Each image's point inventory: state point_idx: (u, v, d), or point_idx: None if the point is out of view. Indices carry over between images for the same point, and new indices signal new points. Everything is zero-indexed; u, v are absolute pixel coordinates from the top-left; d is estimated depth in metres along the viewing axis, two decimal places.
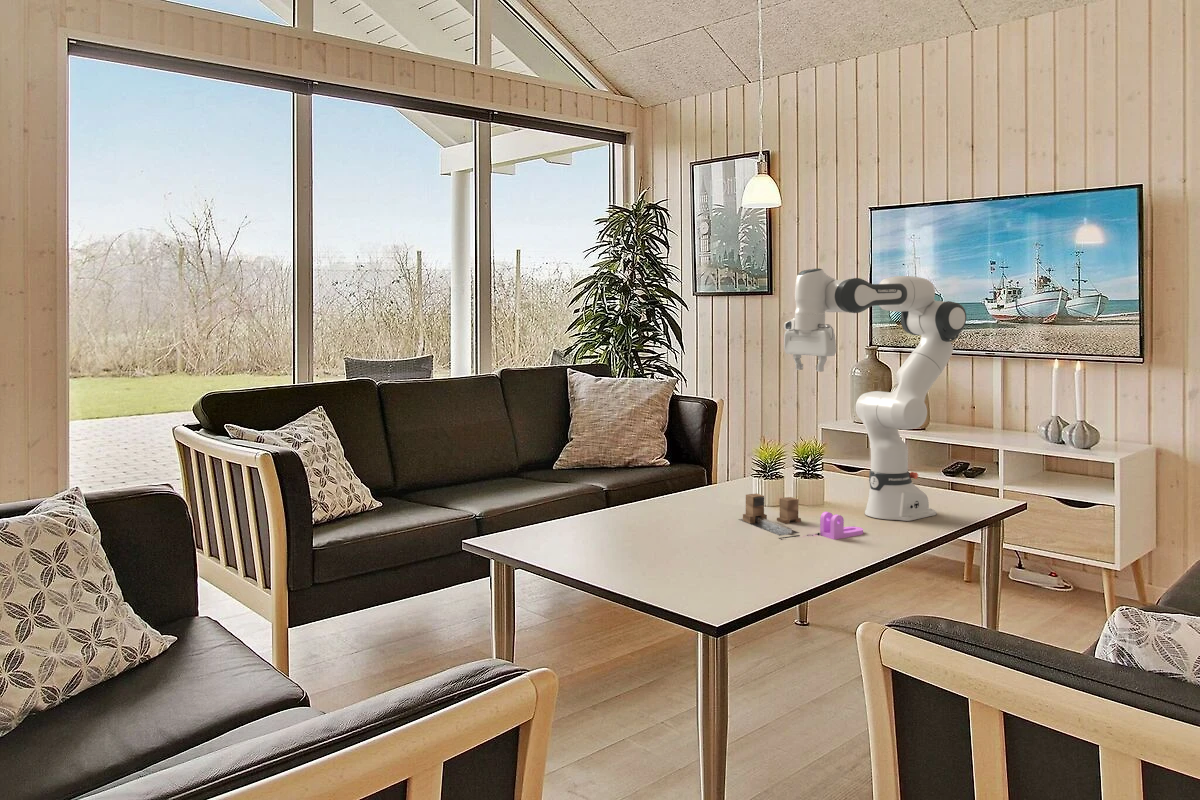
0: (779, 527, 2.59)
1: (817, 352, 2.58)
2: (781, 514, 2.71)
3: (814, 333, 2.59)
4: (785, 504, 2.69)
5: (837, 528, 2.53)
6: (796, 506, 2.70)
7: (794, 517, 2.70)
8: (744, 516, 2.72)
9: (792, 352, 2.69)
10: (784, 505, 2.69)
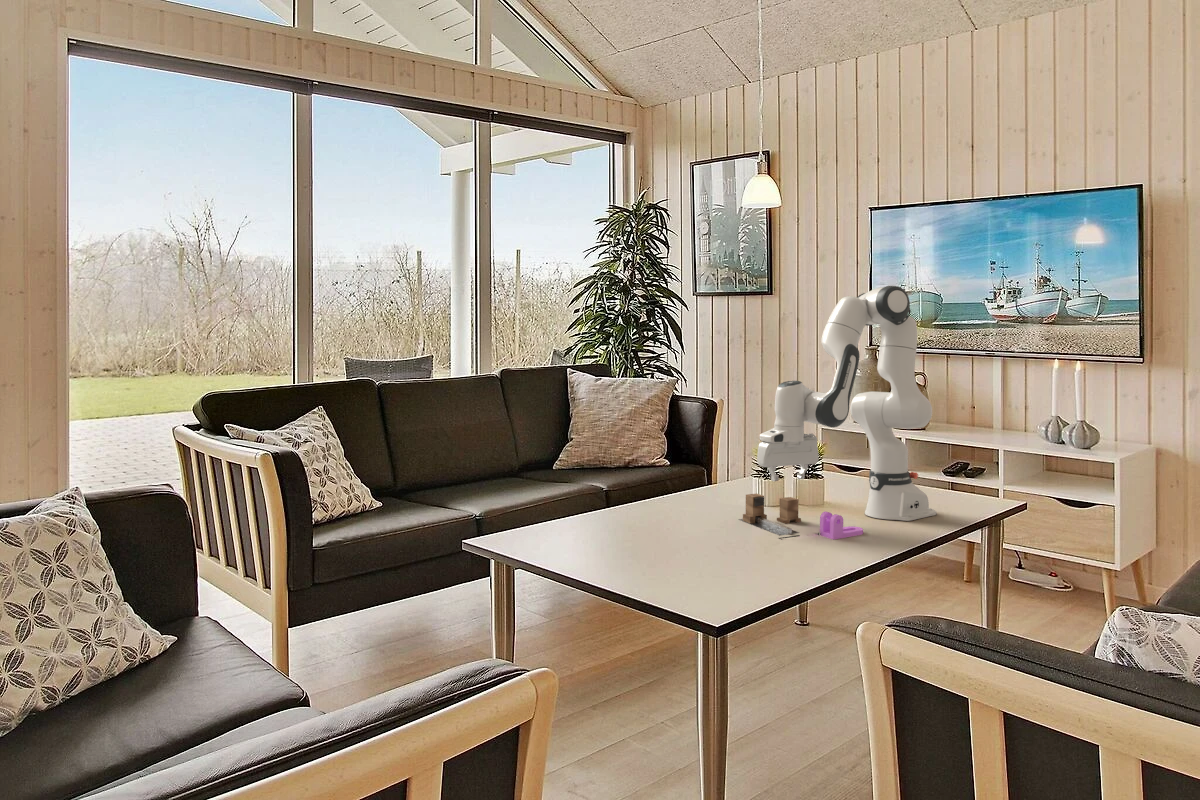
0: (779, 527, 2.59)
1: (808, 461, 2.70)
2: (781, 514, 2.71)
3: (803, 443, 2.69)
4: (785, 504, 2.69)
5: (836, 528, 2.54)
6: (796, 506, 2.70)
7: (794, 517, 2.70)
8: (744, 516, 2.72)
9: (775, 464, 2.66)
10: (784, 505, 2.69)
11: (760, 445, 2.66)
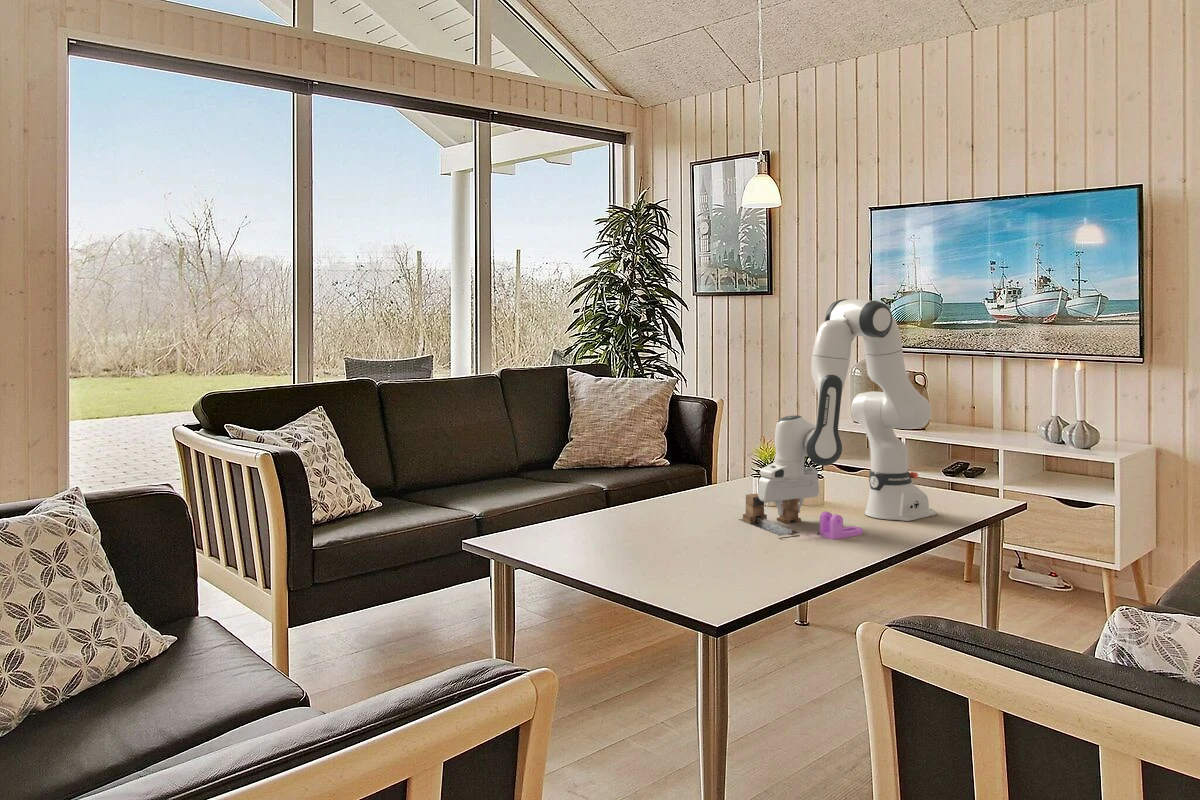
0: (779, 527, 2.59)
1: (808, 495, 2.71)
2: None
3: (804, 477, 2.70)
4: (785, 504, 2.69)
5: (836, 528, 2.53)
6: (796, 506, 2.70)
7: (794, 517, 2.70)
8: (744, 516, 2.72)
9: (776, 499, 2.67)
10: (784, 505, 2.69)
11: (761, 480, 2.67)
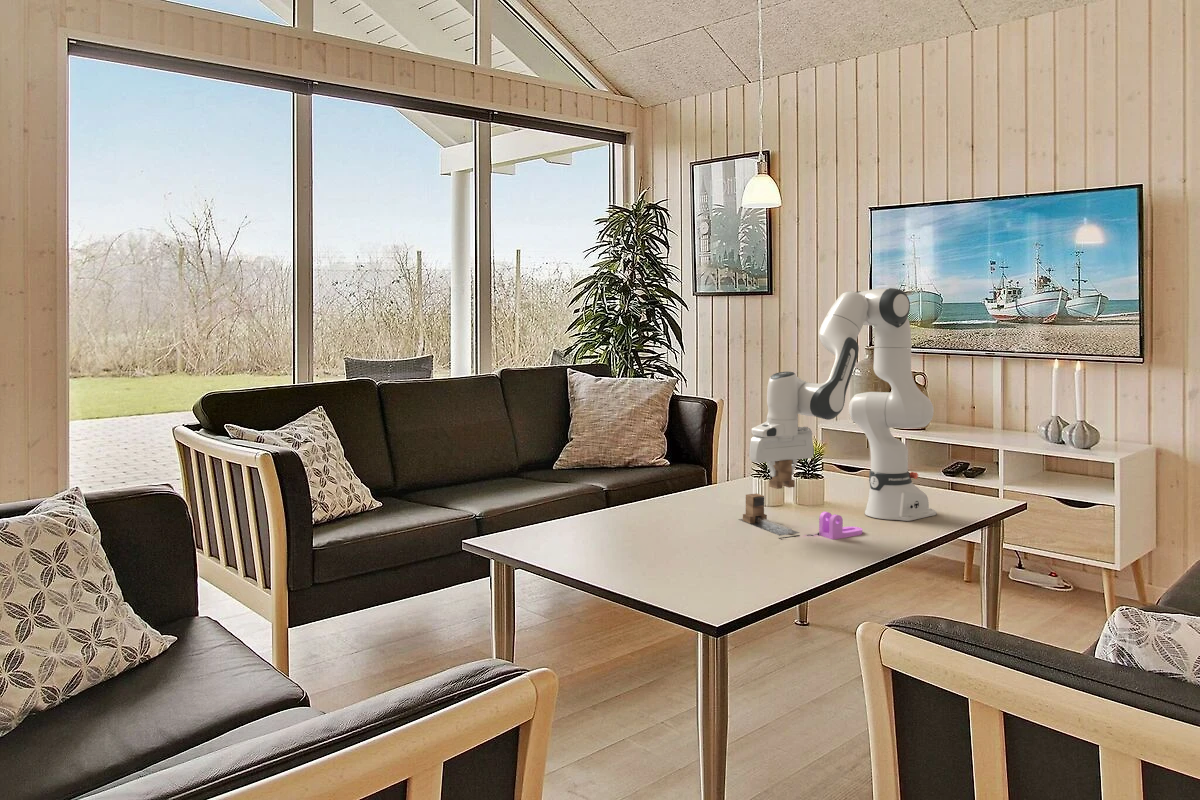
0: (779, 527, 2.59)
1: (802, 456, 2.58)
2: None
3: (798, 437, 2.57)
4: (778, 465, 2.56)
5: (835, 528, 2.53)
6: (789, 467, 2.56)
7: (787, 479, 2.56)
8: (744, 516, 2.72)
9: (768, 460, 2.53)
10: (777, 466, 2.56)
11: (752, 440, 2.54)
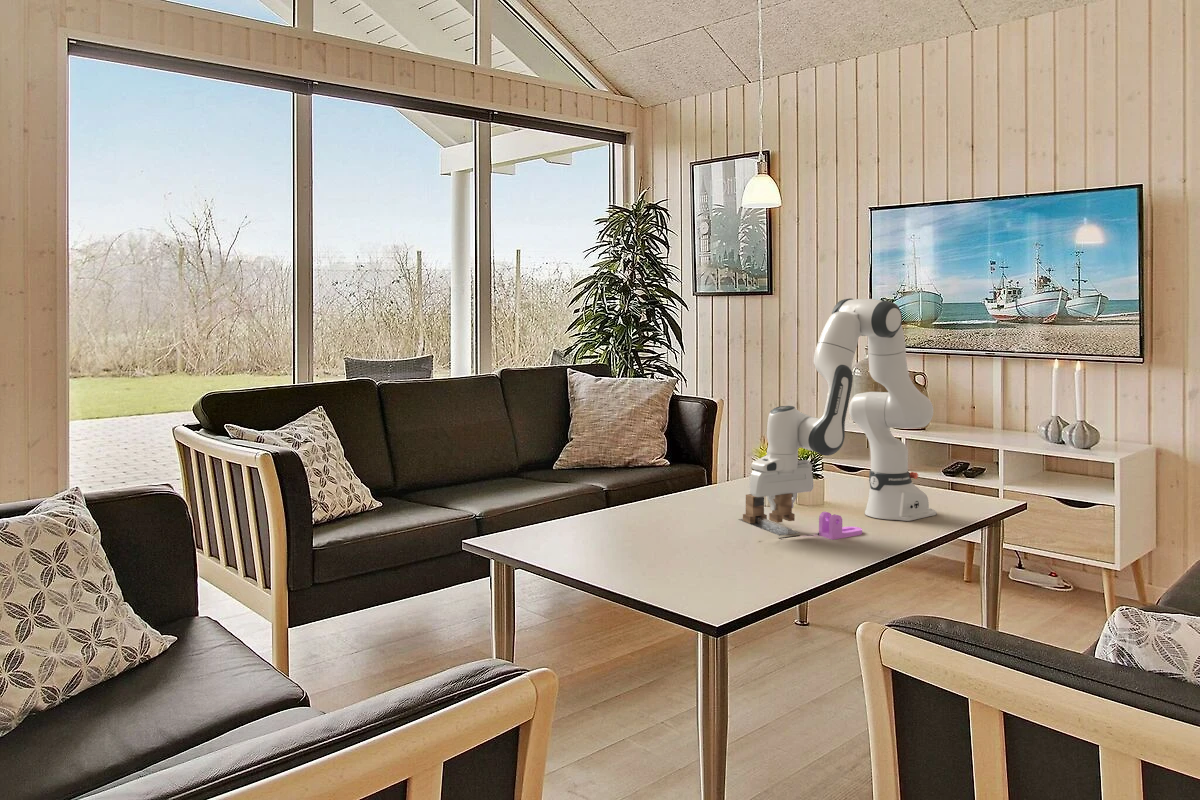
0: (779, 527, 2.59)
1: (802, 489, 2.59)
2: None
3: (798, 471, 2.58)
4: (778, 499, 2.57)
5: (835, 528, 2.53)
6: (789, 501, 2.57)
7: (787, 512, 2.57)
8: (744, 516, 2.72)
9: (768, 494, 2.54)
10: (777, 500, 2.57)
11: (752, 474, 2.55)
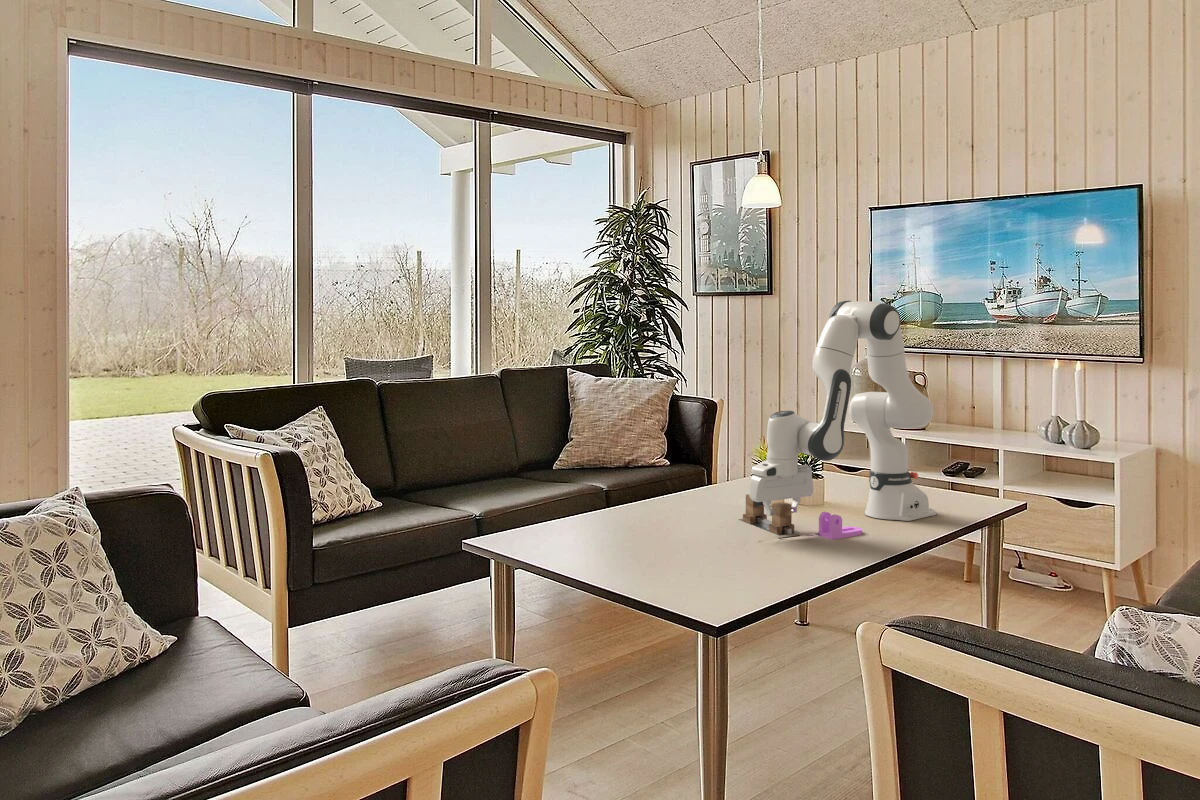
0: None
1: (802, 494, 2.59)
2: (773, 520, 2.59)
3: (797, 476, 2.58)
4: (778, 510, 2.57)
5: (835, 528, 2.53)
6: (789, 512, 2.58)
7: (787, 523, 2.58)
8: (744, 516, 2.72)
9: (768, 499, 2.55)
10: (777, 511, 2.58)
11: (752, 479, 2.55)
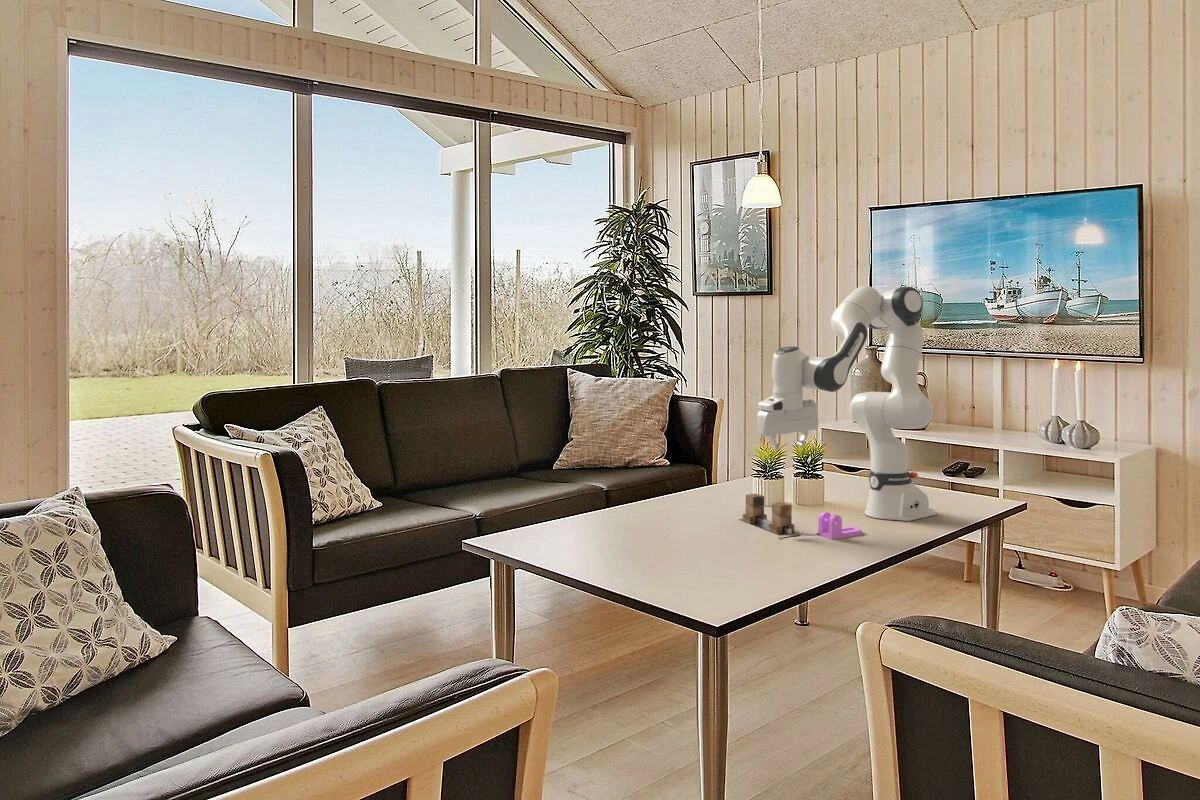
0: None
1: (808, 427, 2.66)
2: (773, 520, 2.59)
3: (803, 410, 2.65)
4: (778, 510, 2.57)
5: (835, 528, 2.53)
6: (789, 512, 2.58)
7: (787, 523, 2.58)
8: (744, 516, 2.72)
9: (775, 433, 2.61)
10: (777, 511, 2.58)
11: (759, 414, 2.62)
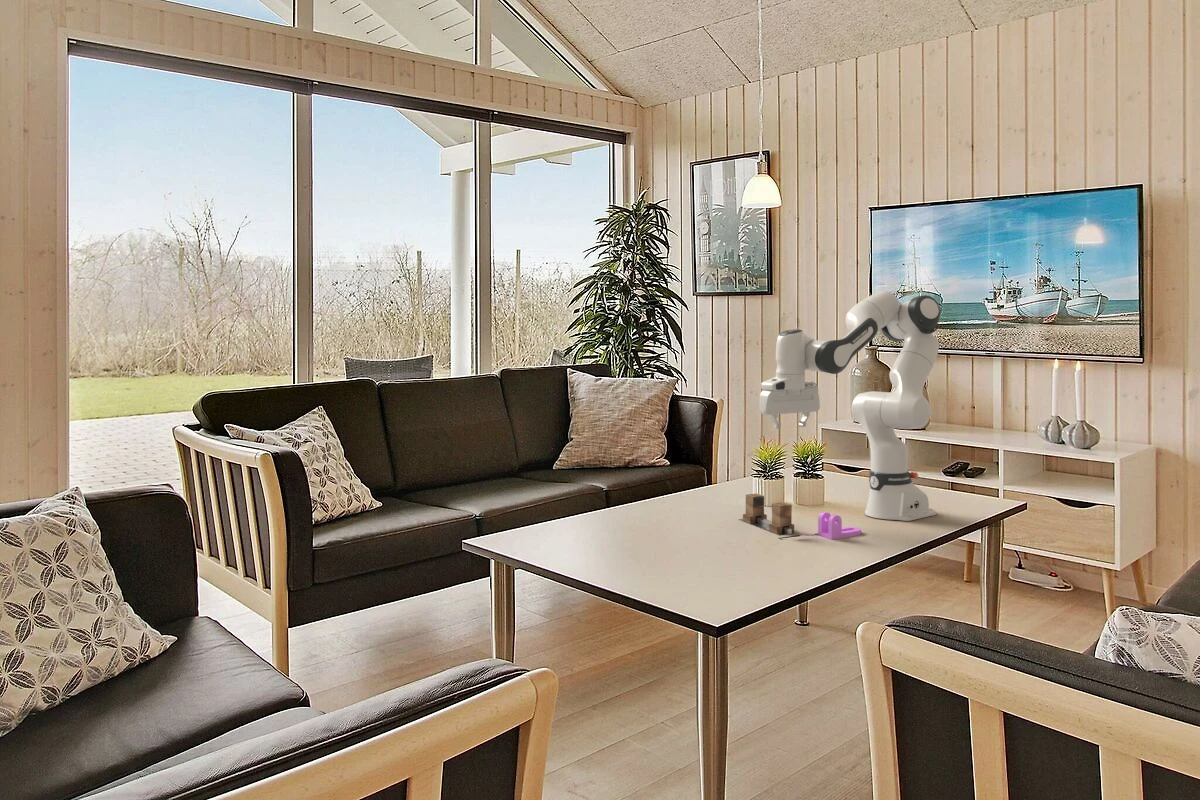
0: None
1: (809, 409, 2.73)
2: (773, 520, 2.59)
3: (805, 391, 2.72)
4: (778, 510, 2.57)
5: (834, 528, 2.53)
6: (789, 512, 2.58)
7: (787, 523, 2.58)
8: (744, 516, 2.72)
9: (777, 412, 2.69)
10: (777, 511, 2.58)
11: (762, 393, 2.70)
